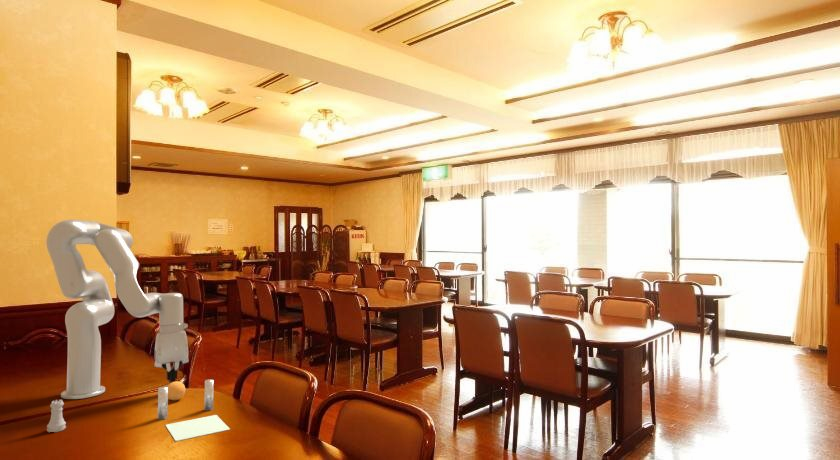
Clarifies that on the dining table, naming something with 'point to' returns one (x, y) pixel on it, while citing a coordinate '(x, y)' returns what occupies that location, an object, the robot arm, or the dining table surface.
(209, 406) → the post
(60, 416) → the rook chess piece
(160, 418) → the post
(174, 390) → the ball
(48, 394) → the dining table surface
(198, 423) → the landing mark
